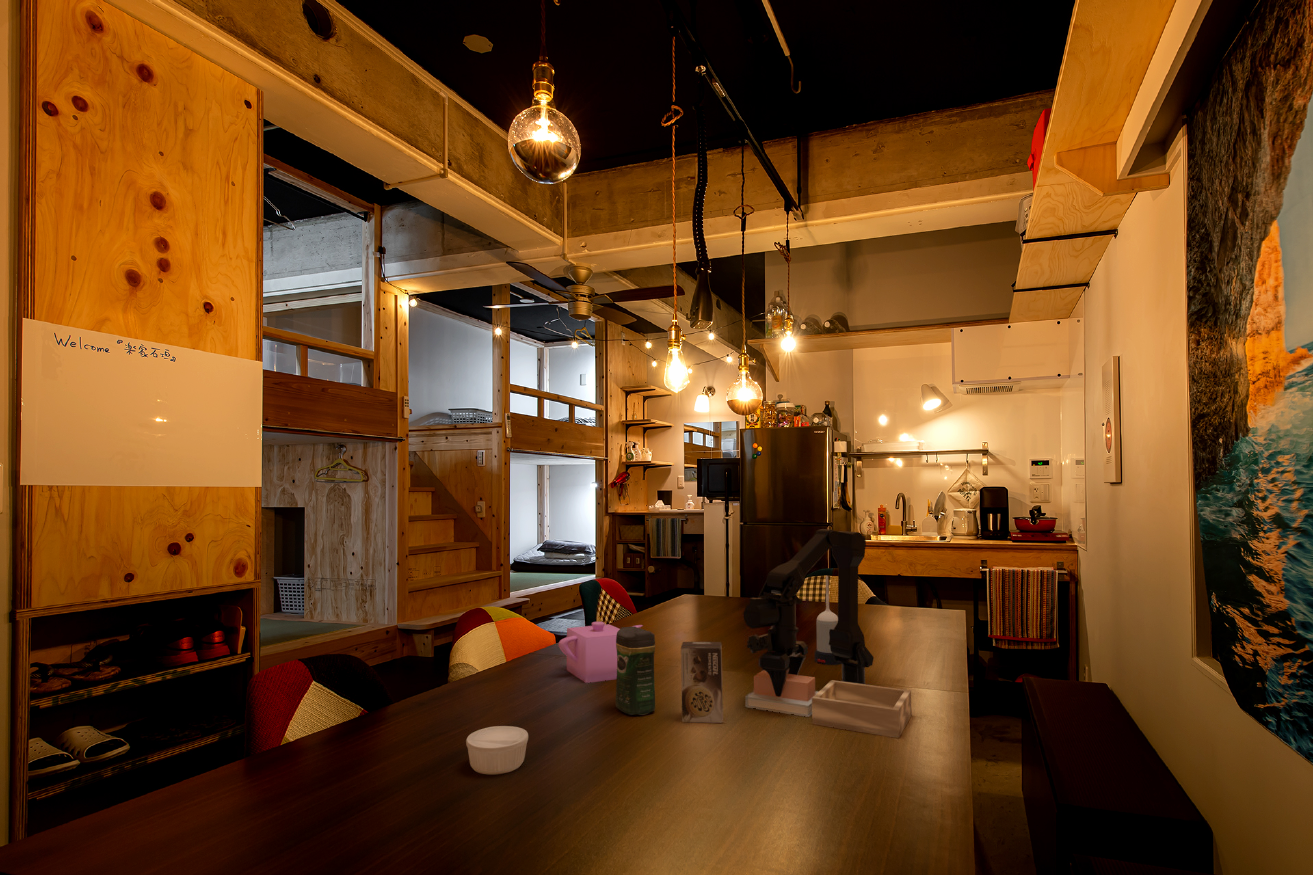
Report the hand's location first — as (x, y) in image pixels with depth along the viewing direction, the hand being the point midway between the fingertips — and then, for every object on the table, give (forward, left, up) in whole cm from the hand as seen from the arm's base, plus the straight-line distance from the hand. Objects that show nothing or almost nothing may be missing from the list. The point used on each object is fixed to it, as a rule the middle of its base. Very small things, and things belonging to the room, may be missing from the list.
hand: (784, 691), depth 164 cm
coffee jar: (+20, -29, -3) cm, 35 cm away
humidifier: (-47, -2, -3) cm, 47 cm away
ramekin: (+60, -35, -4) cm, 70 cm away
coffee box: (+18, -13, -3) cm, 22 cm away
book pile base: (0, 0, -3) cm, 3 cm away
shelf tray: (+2, +18, -3) cm, 19 cm away
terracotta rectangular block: (0, 0, -1) cm, 1 cm away
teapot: (-4, -54, -4) cm, 54 cm away
